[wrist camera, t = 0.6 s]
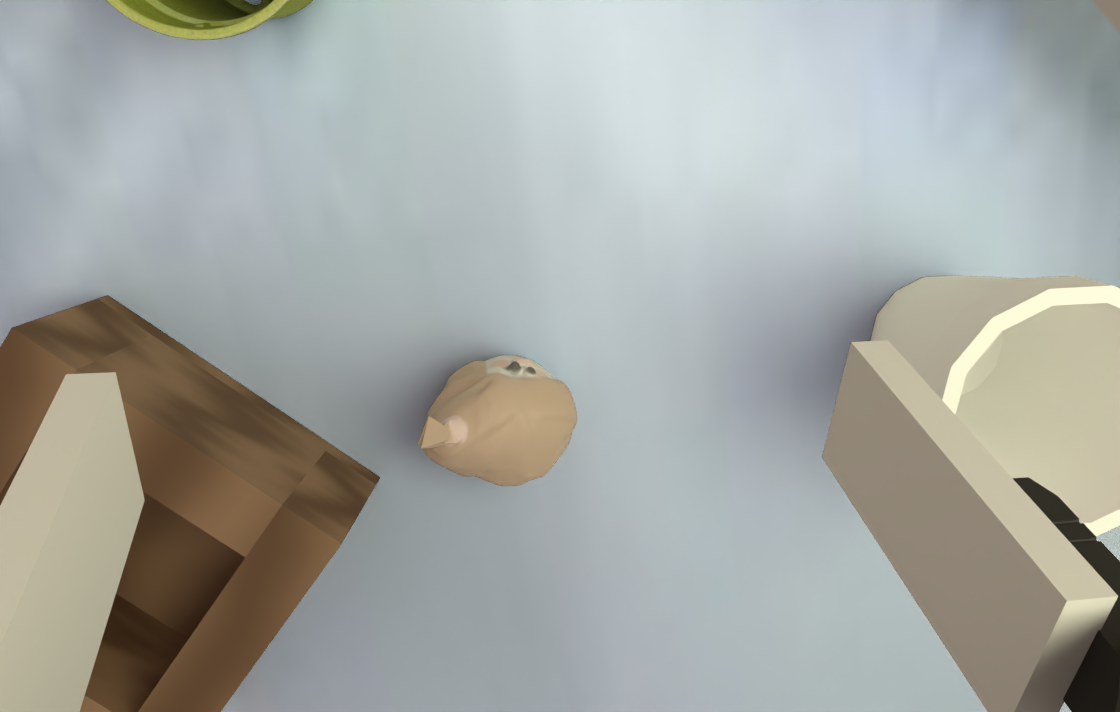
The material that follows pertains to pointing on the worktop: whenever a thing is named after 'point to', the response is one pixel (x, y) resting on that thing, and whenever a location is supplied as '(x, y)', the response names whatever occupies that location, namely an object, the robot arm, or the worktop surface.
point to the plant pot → (204, 15)
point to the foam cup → (1024, 375)
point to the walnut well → (188, 505)
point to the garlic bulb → (500, 421)
